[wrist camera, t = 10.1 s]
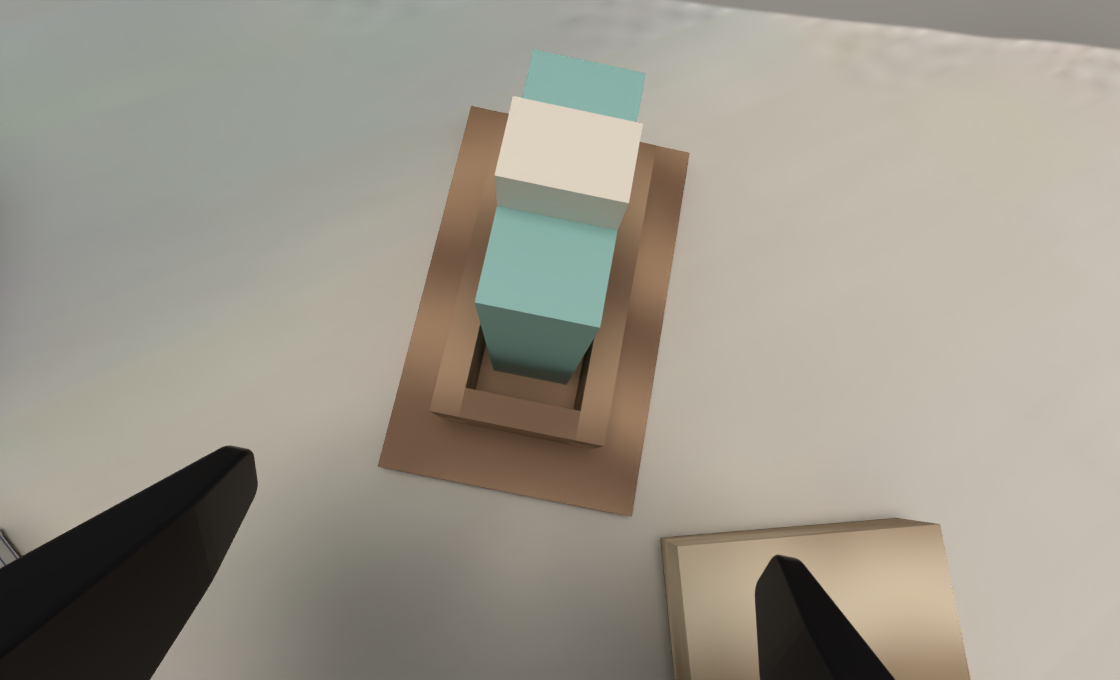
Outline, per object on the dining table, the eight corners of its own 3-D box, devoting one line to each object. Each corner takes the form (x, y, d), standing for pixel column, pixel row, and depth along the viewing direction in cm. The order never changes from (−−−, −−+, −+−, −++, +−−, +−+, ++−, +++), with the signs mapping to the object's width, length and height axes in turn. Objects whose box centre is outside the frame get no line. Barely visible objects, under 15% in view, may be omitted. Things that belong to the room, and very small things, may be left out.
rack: (627, 514, 23) (651, 526, 19) (382, 466, 23) (351, 466, 19) (684, 162, 27) (715, 105, 22) (472, 116, 26) (463, 50, 22)
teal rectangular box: (566, 384, 23) (609, 310, 12) (493, 370, 23) (469, 282, 12) (596, 227, 25) (659, 31, 14) (527, 212, 25) (534, 4, 14)
